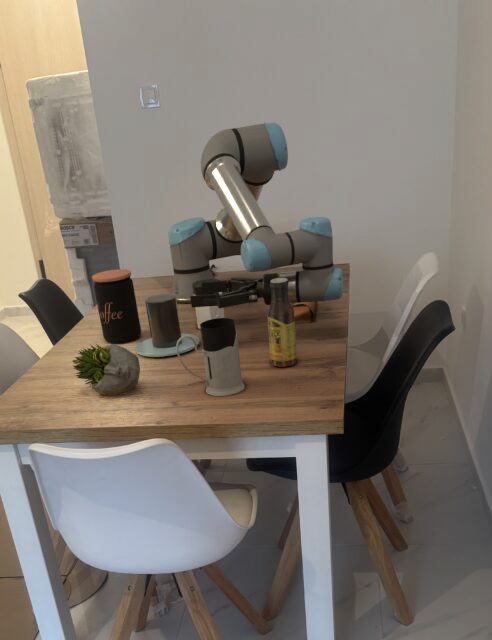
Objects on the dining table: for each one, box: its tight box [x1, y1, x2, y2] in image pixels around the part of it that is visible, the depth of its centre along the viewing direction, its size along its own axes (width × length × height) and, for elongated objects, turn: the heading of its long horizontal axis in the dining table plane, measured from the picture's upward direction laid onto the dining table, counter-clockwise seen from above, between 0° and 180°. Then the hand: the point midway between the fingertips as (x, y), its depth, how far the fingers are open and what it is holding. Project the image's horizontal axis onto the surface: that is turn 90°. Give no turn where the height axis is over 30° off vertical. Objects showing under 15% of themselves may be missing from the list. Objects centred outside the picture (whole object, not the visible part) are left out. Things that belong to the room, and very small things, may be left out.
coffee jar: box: [91, 268, 142, 345], centre depth 212 cm, size 11×11×18 cm
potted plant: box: [71, 343, 141, 397], centre depth 177 cm, size 12×13×15 cm
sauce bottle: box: [267, 278, 297, 368], centre depth 178 cm, size 7×6×20 cm
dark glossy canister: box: [144, 293, 183, 348], centre depth 200 cm, size 8×8×12 cm
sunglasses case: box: [292, 302, 318, 324], centre depth 217 cm, size 18×7×7 cm, turn 172°
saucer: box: [135, 333, 201, 358], centre depth 204 cm, size 17×17×1 cm
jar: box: [192, 278, 226, 330], centre depth 215 cm, size 9×8×12 cm
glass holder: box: [176, 317, 246, 397], centre depth 168 cm, size 9×14×15 cm, turn 111°
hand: (196, 294), depth 195 cm, fingers open, 13 cm apart
